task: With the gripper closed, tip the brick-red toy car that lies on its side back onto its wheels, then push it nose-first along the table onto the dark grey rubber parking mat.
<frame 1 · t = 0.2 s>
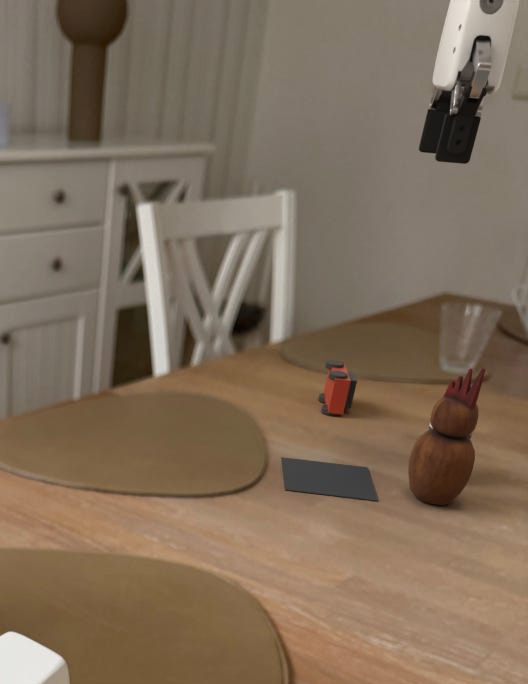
hand: (442, 157, 99), 33 cm above the table, tool pointing down, fingers open, 9 cm apart
toy car: (333, 407, 134), on the table
parking mat: (327, 478, 111), on the table
wooden figurine: (430, 500, 108), on the table
pill bottle: (436, 477, 114), on the table
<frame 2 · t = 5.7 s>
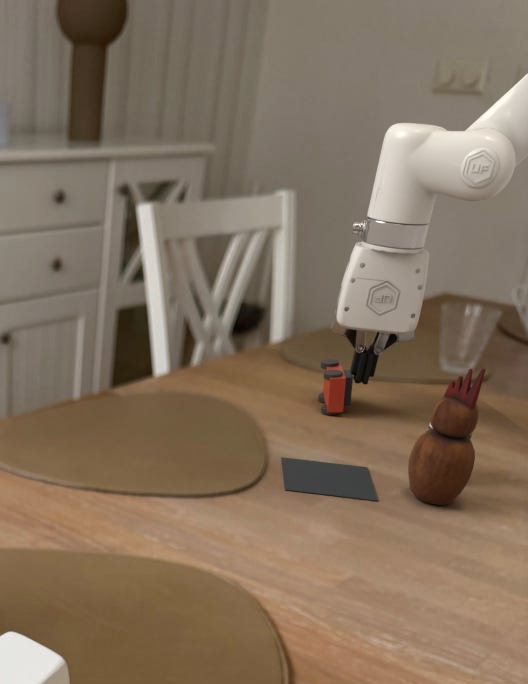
hand: (360, 380, 131), 4 cm above the table, tool pointing down, fingers closed
toy car: (333, 406, 134), on the table, tilted 8°, touching gripper
everything else where it was.
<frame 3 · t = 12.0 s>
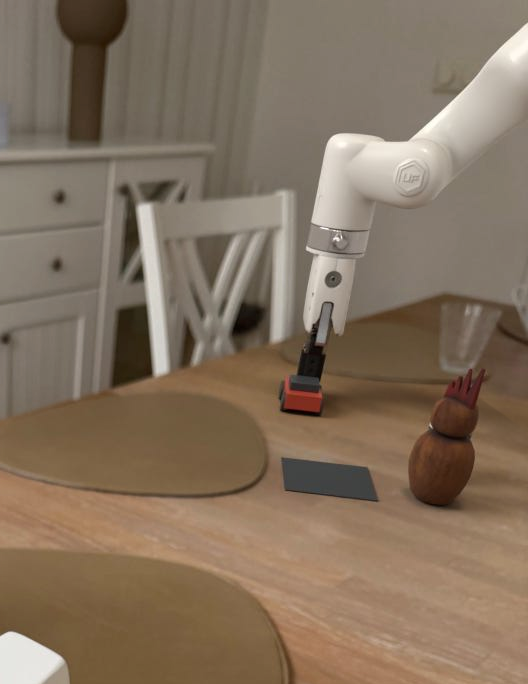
hand: (307, 380, 137), 2 cm above the table, tool pointing down, fingers closed
toy car: (322, 394, 132), point 2 cm above the table, tilted 90°, touching gripper
everything else where it was.
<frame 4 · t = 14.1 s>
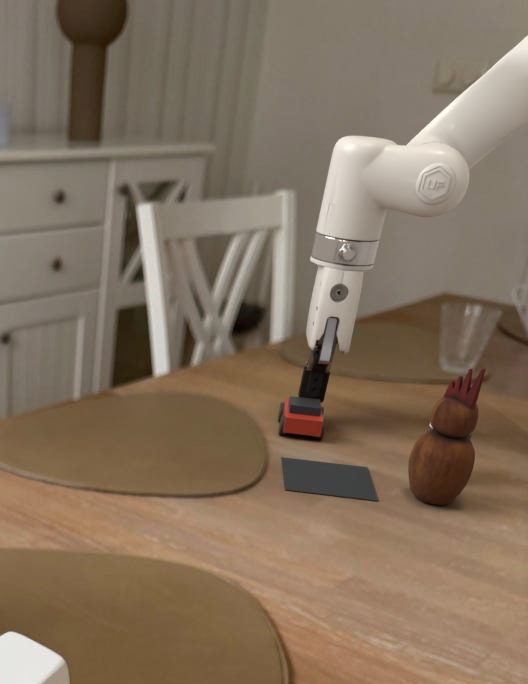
hand: (310, 399, 128), 3 cm above the table, tool pointing down, fingers closed
toy car: (324, 417, 124), point 2 cm above the table, tilted 90°, touching gripper
everything else where it was.
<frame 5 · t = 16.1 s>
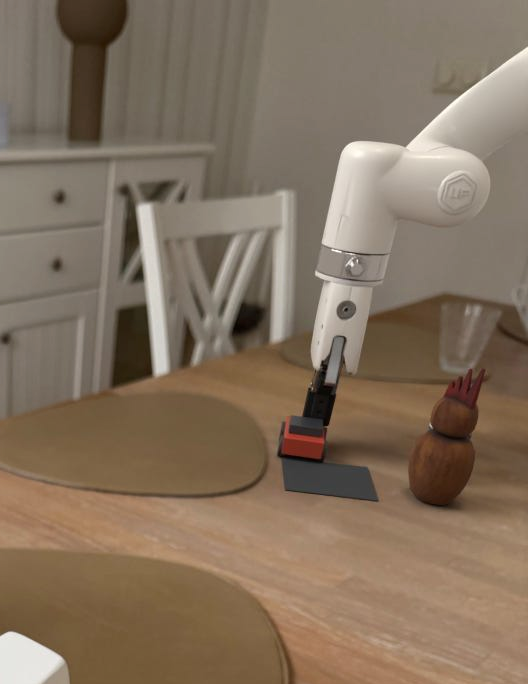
hand: (314, 422, 119), 3 cm above the table, tool pointing down, fingers closed
toy car: (326, 438, 117), point 2 cm above the table, tilted 90°, touching gripper, parking mat
everything else where it was.
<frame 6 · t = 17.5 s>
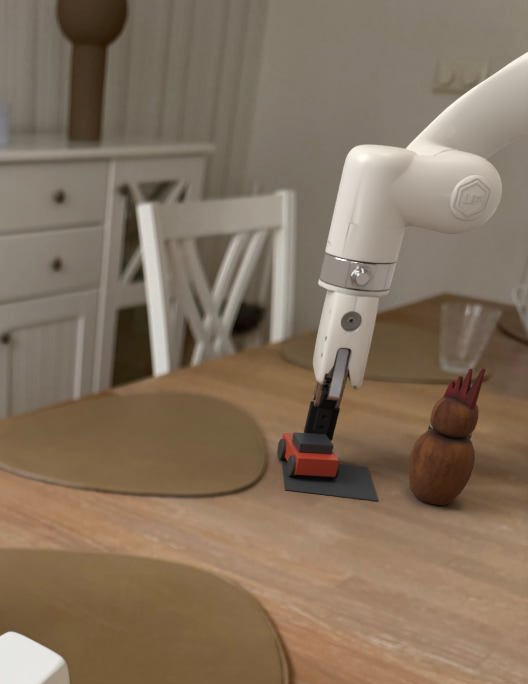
hand: (317, 437, 114), 3 cm above the table, tool pointing down, fingers closed
toy car: (332, 454, 112), point 2 cm above the table, tilted 90°, touching gripper, parking mat
everything else where it was.
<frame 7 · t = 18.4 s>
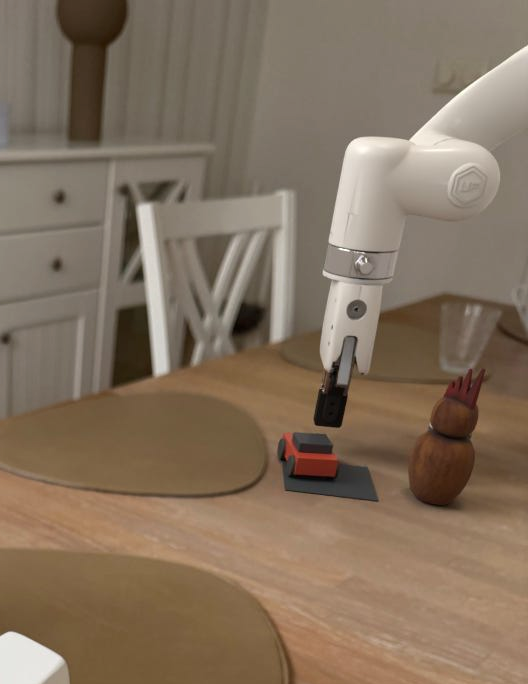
hand: (326, 424, 117), 3 cm above the table, tool pointing down, fingers closed
toy car: (332, 454, 112), point 2 cm above the table, tilted 90°, touching parking mat
everything else where it was.
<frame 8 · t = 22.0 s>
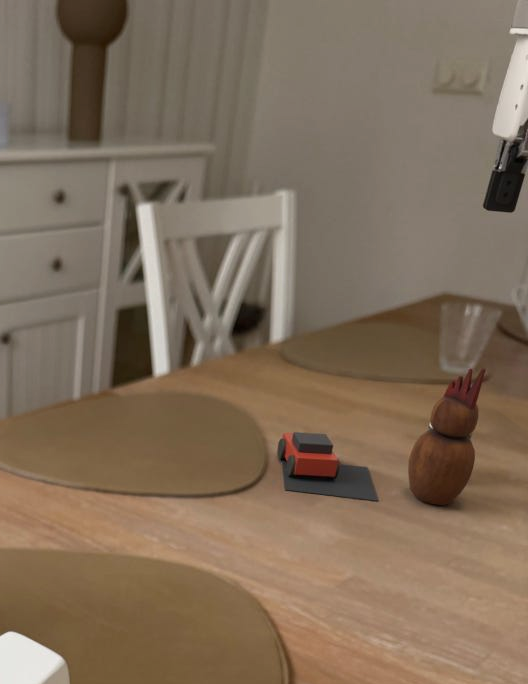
hand: (497, 210, 111), 27 cm above the table, tool pointing down, fingers closed
nothing on the table moved.
at the end: toy car tilted 90°; toy car inside the target area on the parking mat (2.7 cm from its centre), point 2.0 cm above the parking mat's base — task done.
